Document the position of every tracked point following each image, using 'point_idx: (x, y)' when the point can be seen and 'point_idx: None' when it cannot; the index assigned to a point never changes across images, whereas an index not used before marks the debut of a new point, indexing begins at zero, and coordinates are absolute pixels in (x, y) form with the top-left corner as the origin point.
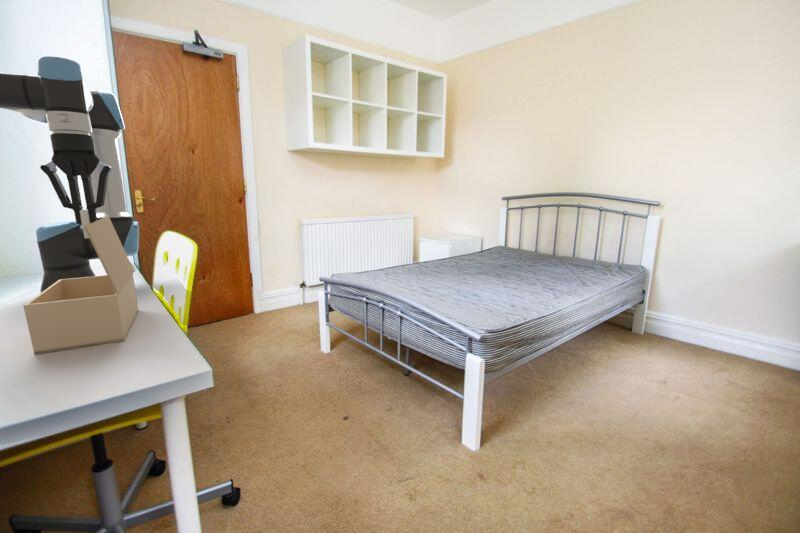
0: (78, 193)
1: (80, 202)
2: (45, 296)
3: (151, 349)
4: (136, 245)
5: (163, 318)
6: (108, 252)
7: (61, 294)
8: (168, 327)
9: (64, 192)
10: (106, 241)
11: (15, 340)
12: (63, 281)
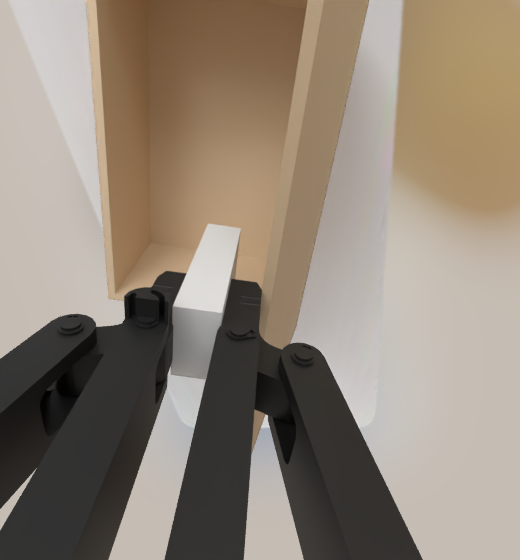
0: (131, 450)
1: (154, 362)
2: (113, 177)
3: (326, 330)
4: None
5: (383, 153)
6: (290, 306)
7: (116, 10)
8: (376, 234)
9: (15, 456)
10: (290, 286)
11: (73, 122)
12: None
